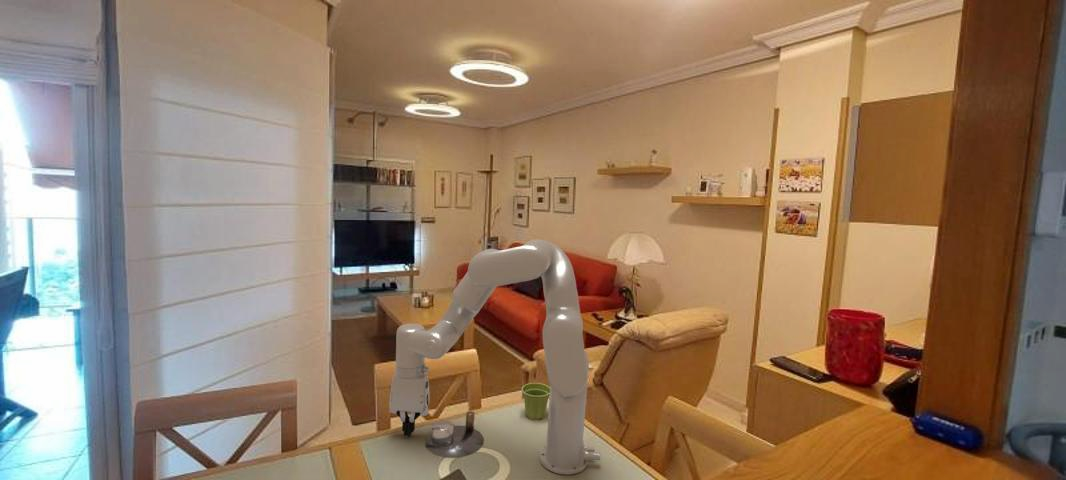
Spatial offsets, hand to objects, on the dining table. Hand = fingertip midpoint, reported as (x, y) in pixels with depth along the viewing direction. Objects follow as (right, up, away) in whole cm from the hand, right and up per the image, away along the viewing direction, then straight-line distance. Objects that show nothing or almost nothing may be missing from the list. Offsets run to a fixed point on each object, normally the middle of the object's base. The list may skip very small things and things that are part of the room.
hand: (408, 433), depth 126 cm
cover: (+9, -2, 0) cm, 10 cm away
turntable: (+13, -3, -1) cm, 13 cm away
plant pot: (+35, -2, +18) cm, 40 cm away
